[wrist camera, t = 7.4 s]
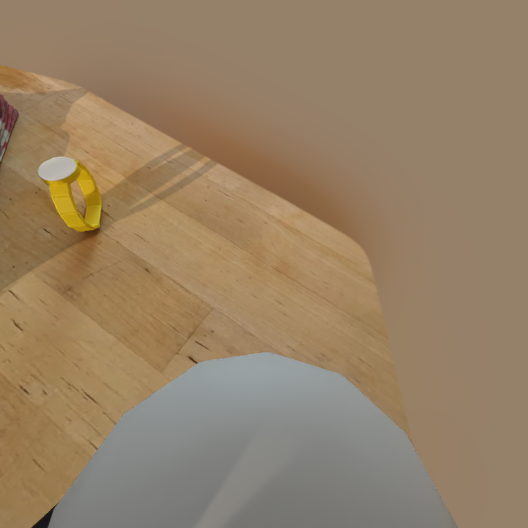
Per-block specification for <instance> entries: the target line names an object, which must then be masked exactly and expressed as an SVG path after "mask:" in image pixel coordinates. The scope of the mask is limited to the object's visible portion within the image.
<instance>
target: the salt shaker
mask: <svg viewBox="0 0 528 528" xmlns="http://www.w3.org/2000/svg"><path fill="white" fill-rule="evenodd" d="M48 528H458V527H457V525H456V523H455V521H454V519H453V518H452V516H451V514H450V512H449V510H448V509H447V507H446V505H445V503H444V501H443V500H442V498H441V496H440V494H439V492H438V491H437V489H436V487H435V485H434V483H433V482H432V480H431V478H430V476H429V474H428V472H427V471H426V469H425V467H424V465H423V464H422V462H421V460H420V458H419V457H418V454H417V453H416V451H415V449H414V447H413V445H412V444H411V442H410V440H409V438H408V436H407V434H406V433H405V432H404V431H403V430H402V429H401V428H400V427H398V426H397V425H396V424H395V423H394V422H393V421H392V420H391V419H390V418H389V417H388V416H386V415H385V414H384V413H383V412H382V411H381V410H380V409H379V408H378V407H377V406H376V405H374V404H373V403H372V402H371V401H370V400H369V399H368V398H367V397H366V396H365V395H364V394H362V393H361V392H360V391H359V390H358V389H357V388H356V387H355V386H354V385H353V384H352V383H350V382H349V381H348V380H347V379H346V378H345V377H344V376H343V375H342V374H339V373H335V372H332V371H329V370H326V369H322V368H319V367H316V366H313V365H309V364H306V363H303V362H300V361H296V360H293V359H290V358H287V357H284V356H280V355H277V354H274V353H270V352H264V353H257V354H250V355H243V356H236V357H229V358H222V359H216V360H209V361H202V362H200V363H198V364H196V365H195V366H193V367H192V368H190V369H189V370H187V371H186V372H184V373H183V374H181V375H180V376H179V377H177V378H176V379H174V380H173V381H171V382H170V383H168V384H167V385H165V386H164V387H162V388H161V389H160V390H158V391H157V392H155V393H154V394H152V395H151V396H149V397H148V398H146V399H145V400H143V401H142V402H140V403H139V404H138V405H136V406H135V407H133V408H132V409H130V410H129V411H127V412H126V413H124V414H123V416H122V417H121V419H120V420H119V421H118V423H117V424H116V425H115V427H114V428H113V429H112V431H111V432H110V434H109V435H108V436H107V438H106V439H105V440H104V442H103V443H102V444H101V446H100V447H99V449H98V450H97V451H96V453H95V454H94V455H93V457H92V458H91V459H90V461H89V462H88V464H87V465H86V466H85V468H84V469H83V470H82V472H81V473H80V474H79V476H78V477H77V479H76V480H75V481H74V483H73V484H72V485H71V487H70V488H69V489H68V491H67V492H66V493H65V495H64V496H63V498H62V499H61V500H60V502H59V503H58V504H57V506H56V507H55V508H54V511H53V514H52V517H51V520H50V523H49V526H48Z"/></svg>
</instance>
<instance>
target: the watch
mask: <svg viewBox="0 0 528 528" xmlns="http://www.w3.org/2000/svg"><path fill="white" fill-rule="evenodd" d="M38 175H39V176H40V178H41V179H42V180H43V181H44V182H45V183H46V184H47V185H49V187H50V193H51V196H52V200H53V202H54V204H55V207H56V209H57V211H58V213H59V214H60V216H61V218H62V219H63V220H64V221H65V223H66V224H67V225H68V226H69V227H70V228H72V229H74V230H76V231H79V232H80V231H89V230H95V229H97V228H99V227H100V217H101V209H102V201H101V197H100V193H99V190H98V187H97V185H96V183H95V180H94V179H93V176H92V175H91V173H90V172H89V170H88V169H87V168H86V166H84V165H83V164H82V163H80V162H79V161H77V160H73V159H71V158H68V157H55V158H51V159H49V160H47V161H45V162H43V163H42V164H41V165H40V167H39V169H38ZM76 179H77V180H78V183H79V185H80V187H81V190H82V192H83V193H84V198H85V203H86V213H85V219H84V218H83V217H82V215H81V214H80V213H79V211H78V209H77V206H76V204H75V201H74V199H73V196H72V192H71V186H70V183H72V182H74V181H75V180H76Z"/></svg>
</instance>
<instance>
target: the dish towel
mask: <svg viewBox="0 0 528 528" xmlns="http://www.w3.org/2000/svg"><path fill="white" fill-rule="evenodd" d="M17 116H18V111H17V110H15V109H13V106H11V105H8V102H7V101H6V100H4V97H3V95H1V94H0V162H1V159H2V157H3V154H4V152H5V150H6V146H7V142H8V140H9V136H10V134H11V132H12V129H13V125H14V122H15V120H16V118H17Z"/></svg>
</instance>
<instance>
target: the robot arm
mask: <svg viewBox="0 0 528 528" xmlns="http://www.w3.org/2000/svg"><path fill="white" fill-rule="evenodd" d="M57 504H58V503H57ZM57 504H56V505H55V506H54V507H53V508H52V509H51V510H50V511H49V512H48V513H47V514H46V515H45V516H44V517H43V518H42V519H40V520H39V521H38V522H37V523H36V524H35V525H34V526H33V527H32V528H48V526H49V523H50V520H51V517H52V514H53V511H54V508H55V507H56V506H57Z"/></svg>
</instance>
